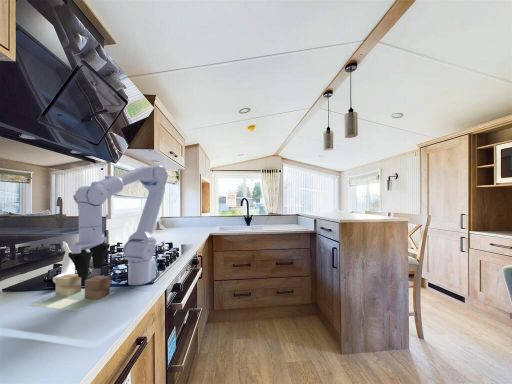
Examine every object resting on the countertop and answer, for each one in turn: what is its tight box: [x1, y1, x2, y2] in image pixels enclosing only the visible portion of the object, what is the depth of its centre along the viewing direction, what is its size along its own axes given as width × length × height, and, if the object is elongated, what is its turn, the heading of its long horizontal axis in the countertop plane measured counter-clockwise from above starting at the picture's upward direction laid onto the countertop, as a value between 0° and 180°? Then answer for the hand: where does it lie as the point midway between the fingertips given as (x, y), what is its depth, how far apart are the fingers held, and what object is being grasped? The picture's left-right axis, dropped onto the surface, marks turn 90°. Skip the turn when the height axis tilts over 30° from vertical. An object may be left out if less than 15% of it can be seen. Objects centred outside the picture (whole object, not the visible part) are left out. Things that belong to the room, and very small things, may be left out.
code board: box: [27, 288, 116, 312], centre depth 75 cm, size 14×17×1 cm
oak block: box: [55, 273, 82, 297], centre depth 79 cm, size 5×5×5 cm
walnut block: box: [84, 275, 111, 300], centre depth 76 cm, size 5×5×5 cm
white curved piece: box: [52, 241, 76, 285], centre depth 90 cm, size 5×19×15 cm, turn 31°
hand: (90, 272), depth 73 cm, fingers open, 7 cm apart
